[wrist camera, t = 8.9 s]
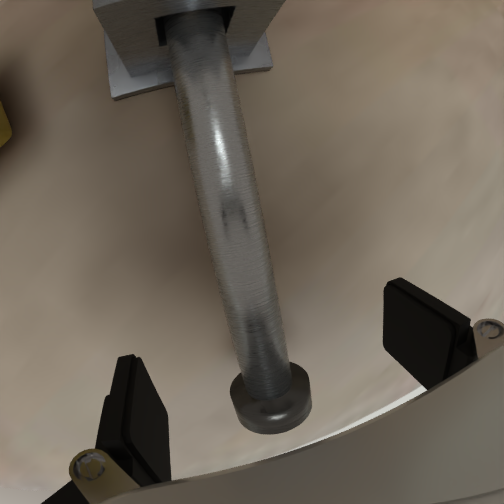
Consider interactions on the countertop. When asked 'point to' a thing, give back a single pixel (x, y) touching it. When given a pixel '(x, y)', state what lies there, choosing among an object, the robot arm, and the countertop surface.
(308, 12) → the countertop surface
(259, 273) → the shaft
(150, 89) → the block
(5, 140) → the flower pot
